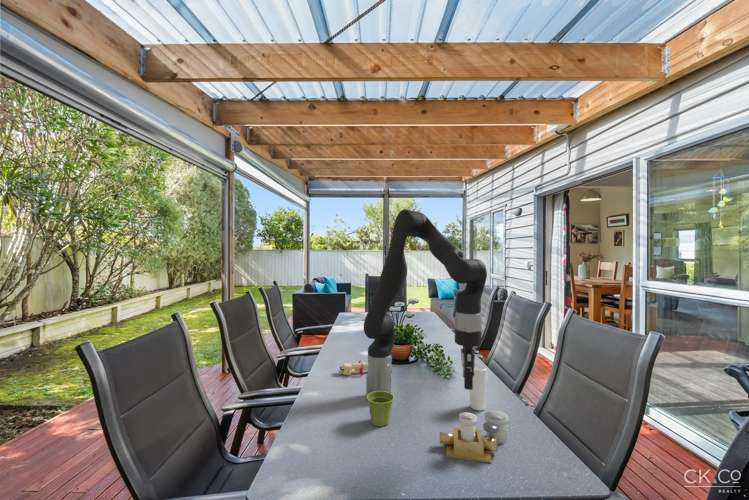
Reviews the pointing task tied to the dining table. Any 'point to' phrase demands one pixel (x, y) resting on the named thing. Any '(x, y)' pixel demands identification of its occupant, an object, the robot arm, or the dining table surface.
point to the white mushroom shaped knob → (468, 426)
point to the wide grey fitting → (501, 421)
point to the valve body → (471, 444)
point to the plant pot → (380, 407)
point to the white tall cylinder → (479, 388)
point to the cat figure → (354, 368)
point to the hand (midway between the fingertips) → (467, 383)
